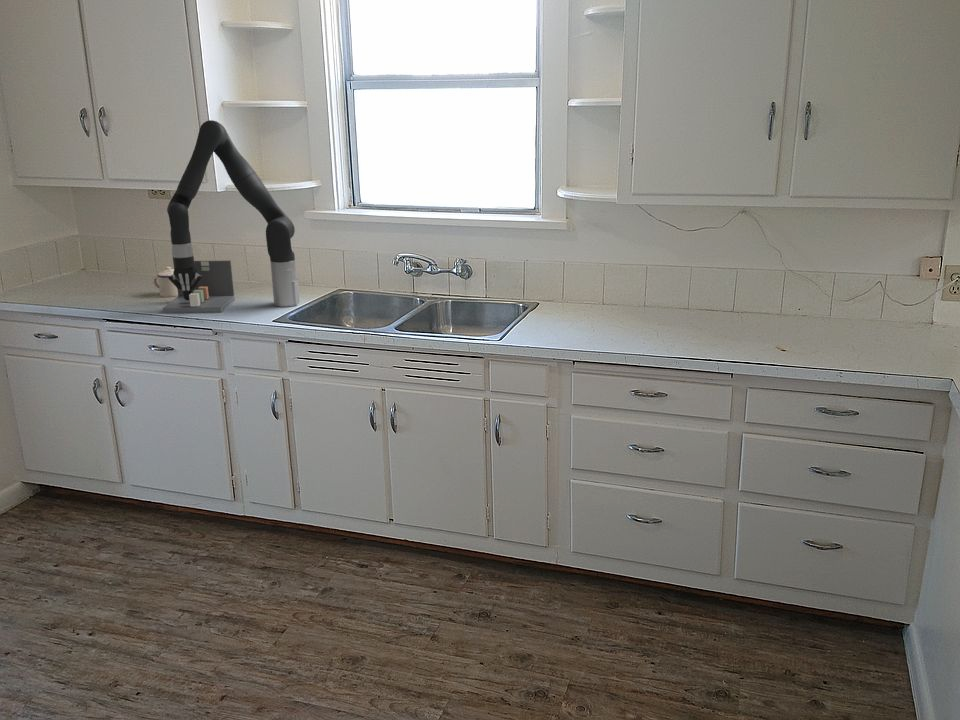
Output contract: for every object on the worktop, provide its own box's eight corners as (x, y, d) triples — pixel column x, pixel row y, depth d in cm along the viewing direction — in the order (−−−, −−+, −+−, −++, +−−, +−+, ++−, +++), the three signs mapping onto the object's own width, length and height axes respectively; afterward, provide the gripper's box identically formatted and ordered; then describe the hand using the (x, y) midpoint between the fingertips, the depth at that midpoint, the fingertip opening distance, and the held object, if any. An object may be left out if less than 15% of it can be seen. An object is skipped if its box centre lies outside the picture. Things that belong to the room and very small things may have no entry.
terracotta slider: (209, 297, 340) (207, 286, 339) (207, 299, 338) (205, 287, 336) (201, 297, 340) (200, 286, 339) (199, 299, 338) (198, 288, 336)
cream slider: (200, 304, 330) (199, 293, 328) (198, 306, 327) (197, 294, 326) (192, 304, 330) (191, 293, 328) (190, 306, 327) (189, 294, 326)
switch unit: (234, 300, 346) (230, 260, 341) (221, 312, 328) (216, 270, 323) (179, 300, 346) (174, 260, 341) (163, 313, 328) (157, 271, 323)
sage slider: (204, 301, 335) (202, 289, 333) (202, 302, 332) (200, 291, 331) (196, 301, 335) (195, 289, 333) (194, 302, 332) (192, 291, 331)
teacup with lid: (187, 292, 358) (184, 265, 355) (174, 298, 350) (171, 269, 346) (162, 291, 361) (158, 263, 358) (148, 296, 353) (145, 268, 350)
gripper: (203, 252, 331) (208, 297, 337) (168, 253, 332) (174, 297, 337) (197, 256, 324) (202, 301, 330) (161, 257, 324) (167, 302, 330)
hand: (188, 299), depth 333 cm, fingers closed
